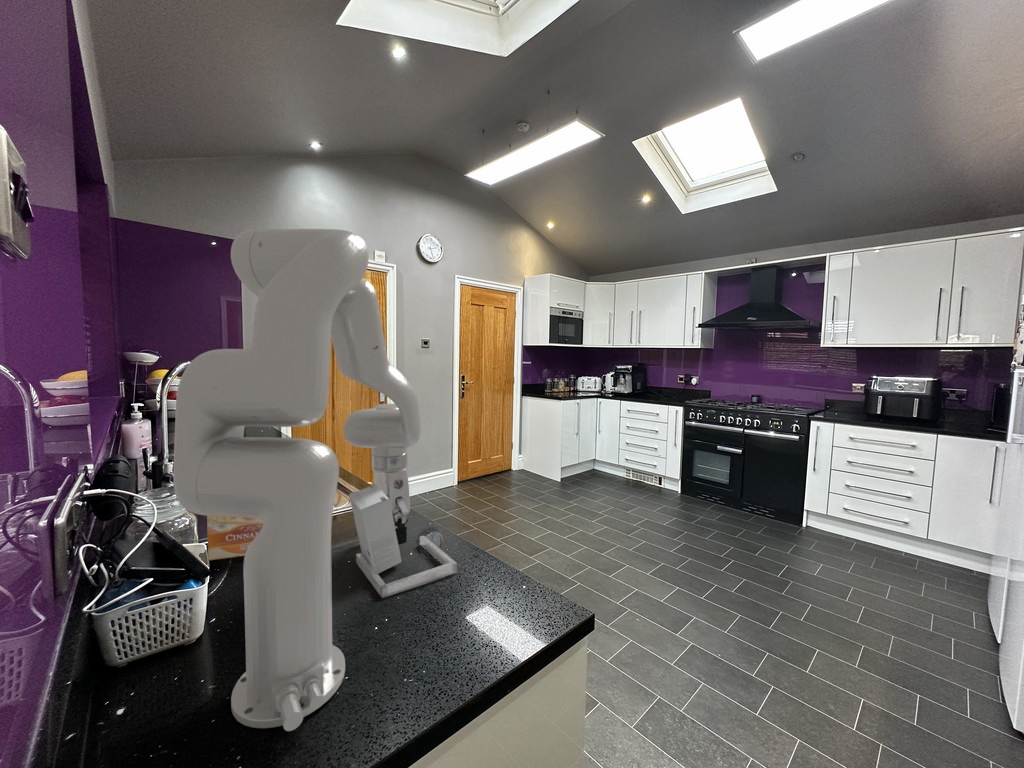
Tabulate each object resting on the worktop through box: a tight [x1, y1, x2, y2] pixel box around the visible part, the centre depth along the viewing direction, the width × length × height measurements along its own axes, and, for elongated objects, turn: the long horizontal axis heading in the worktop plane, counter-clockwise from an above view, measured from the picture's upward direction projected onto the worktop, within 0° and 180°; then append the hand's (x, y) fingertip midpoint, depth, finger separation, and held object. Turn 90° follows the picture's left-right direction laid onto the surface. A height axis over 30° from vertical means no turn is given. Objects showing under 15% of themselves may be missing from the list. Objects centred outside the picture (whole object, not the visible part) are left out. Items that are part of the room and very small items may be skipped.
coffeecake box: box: [206, 516, 263, 561], centre depth 86 cm, size 15×7×20 cm, turn 114°
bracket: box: [355, 535, 458, 599], centre depth 81 cm, size 15×15×2 cm
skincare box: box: [348, 484, 402, 575], centre depth 80 cm, size 8×6×15 cm
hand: (390, 535), depth 90 cm, fingers open, 9 cm apart
